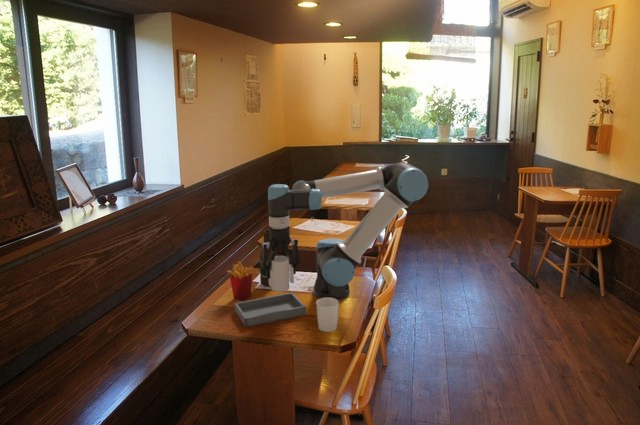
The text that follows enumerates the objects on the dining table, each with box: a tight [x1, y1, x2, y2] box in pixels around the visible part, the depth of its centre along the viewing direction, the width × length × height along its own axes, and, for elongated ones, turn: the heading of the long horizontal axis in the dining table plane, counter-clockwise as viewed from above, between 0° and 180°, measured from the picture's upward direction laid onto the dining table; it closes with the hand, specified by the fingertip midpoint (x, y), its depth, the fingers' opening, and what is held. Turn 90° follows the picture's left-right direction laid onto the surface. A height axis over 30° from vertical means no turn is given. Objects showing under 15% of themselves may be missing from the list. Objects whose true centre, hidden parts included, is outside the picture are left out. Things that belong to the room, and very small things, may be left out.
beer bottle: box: [259, 229, 278, 288], centre depth 225 cm, size 8×8×24 cm
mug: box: [271, 255, 290, 293], centre depth 198 cm, size 10×7×12 cm, turn 155°
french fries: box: [227, 261, 253, 302], centre depth 212 cm, size 9×8×15 cm
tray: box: [234, 292, 307, 328], centre depth 199 cm, size 24×15×4 cm, turn 114°
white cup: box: [315, 297, 339, 333], centre depth 187 cm, size 8×8×10 cm
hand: (281, 283), depth 199 cm, fingers closed on mug, 8 cm apart
